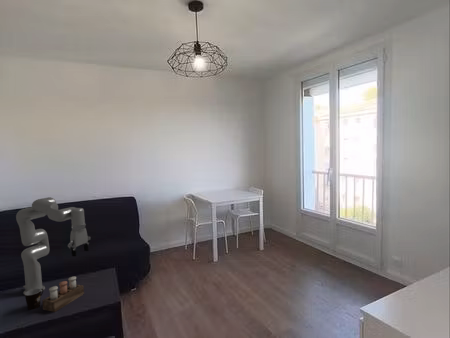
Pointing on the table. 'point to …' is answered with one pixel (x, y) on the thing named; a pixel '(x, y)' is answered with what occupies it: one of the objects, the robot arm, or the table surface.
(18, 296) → the table surface
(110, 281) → the table surface
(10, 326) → the table surface
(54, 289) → the cream plug
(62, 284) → the terracotta plug
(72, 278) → the cream plug
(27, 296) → the coffee mug
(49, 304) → the socket block
